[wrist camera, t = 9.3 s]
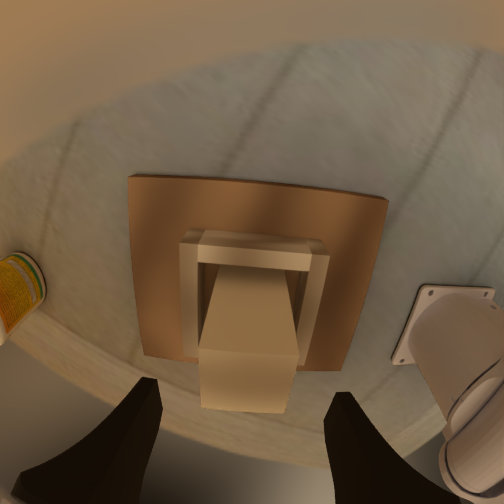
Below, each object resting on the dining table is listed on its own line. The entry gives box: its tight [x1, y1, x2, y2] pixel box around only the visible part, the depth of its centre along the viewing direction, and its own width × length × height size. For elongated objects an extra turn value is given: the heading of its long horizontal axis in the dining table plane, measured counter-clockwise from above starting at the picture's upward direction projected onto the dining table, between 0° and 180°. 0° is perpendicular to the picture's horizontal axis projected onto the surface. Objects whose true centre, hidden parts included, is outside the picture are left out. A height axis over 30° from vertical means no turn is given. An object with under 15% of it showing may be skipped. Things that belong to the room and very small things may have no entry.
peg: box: [198, 264, 299, 413], centre depth 16 cm, size 4×4×8 cm
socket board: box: [128, 175, 389, 371], centre depth 19 cm, size 16×14×4 cm
